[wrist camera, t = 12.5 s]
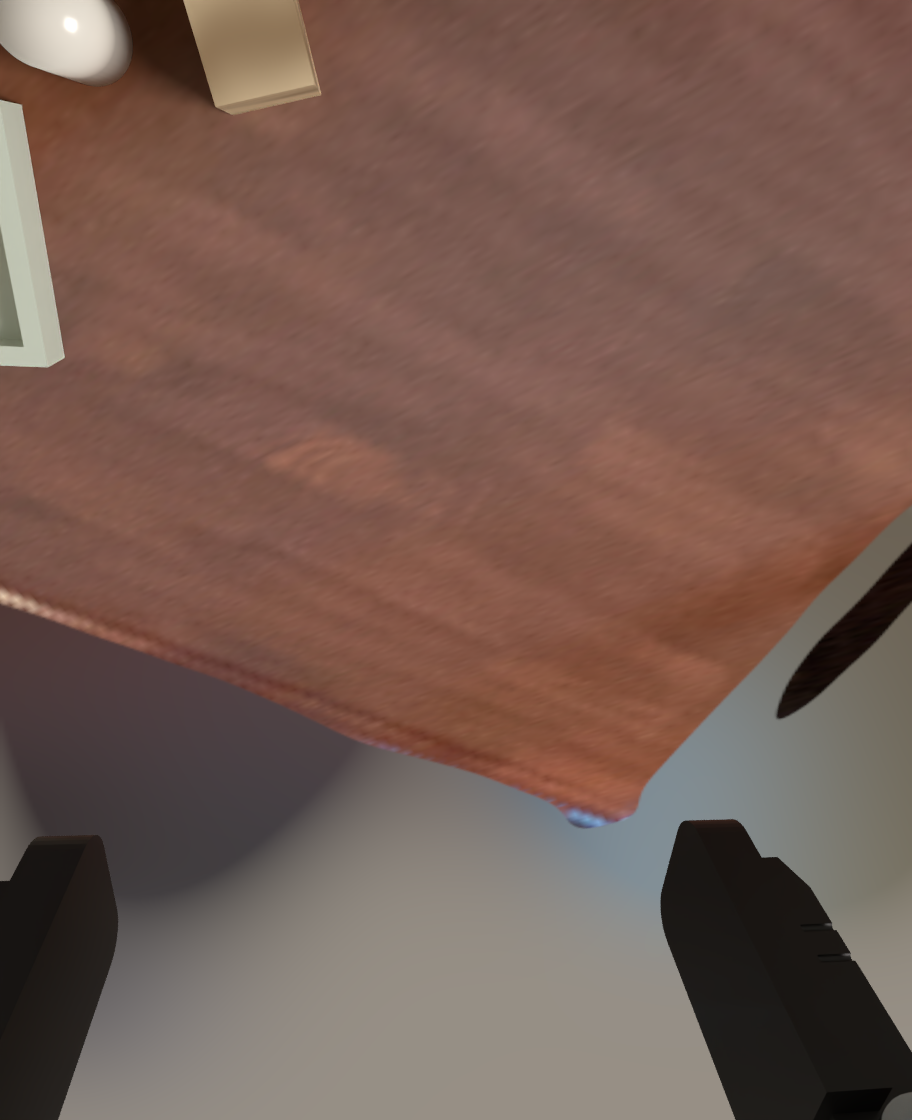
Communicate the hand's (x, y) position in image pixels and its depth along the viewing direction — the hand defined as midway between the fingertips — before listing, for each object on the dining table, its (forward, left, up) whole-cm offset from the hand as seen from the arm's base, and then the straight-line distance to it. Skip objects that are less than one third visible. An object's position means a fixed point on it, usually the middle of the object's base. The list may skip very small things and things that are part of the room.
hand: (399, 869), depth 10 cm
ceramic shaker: (-14, -14, -36) cm, 41 cm away
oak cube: (-14, -6, -36) cm, 39 cm away
